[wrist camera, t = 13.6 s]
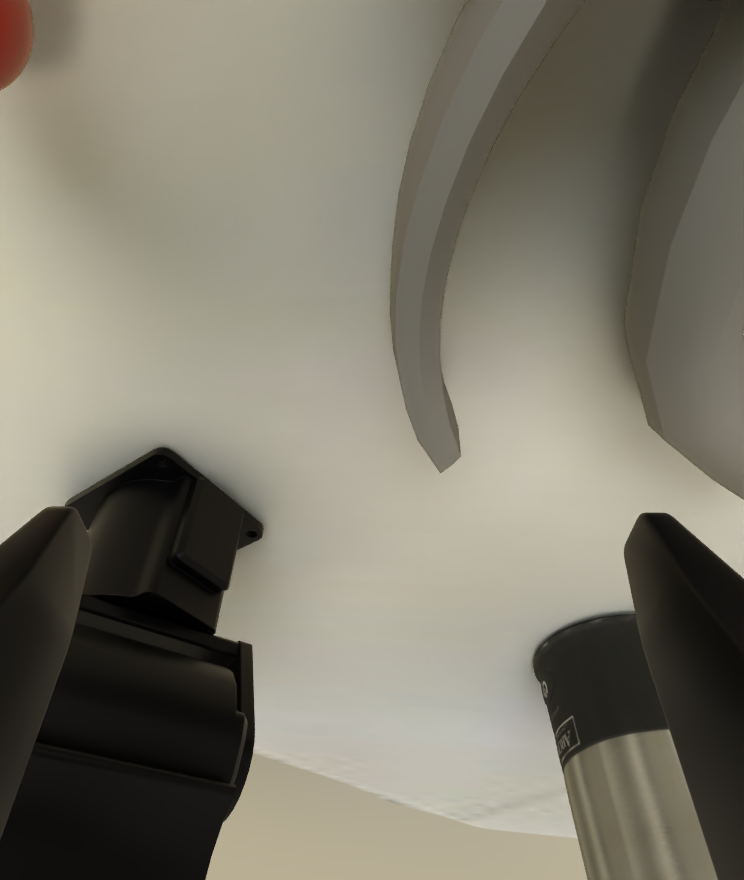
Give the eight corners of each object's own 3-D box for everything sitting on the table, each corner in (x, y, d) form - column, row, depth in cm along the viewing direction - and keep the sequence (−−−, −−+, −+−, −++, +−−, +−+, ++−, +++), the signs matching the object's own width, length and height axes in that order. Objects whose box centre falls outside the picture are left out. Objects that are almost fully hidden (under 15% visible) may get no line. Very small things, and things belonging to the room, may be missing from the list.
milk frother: (522, 625, 34) (596, 973, 23) (829, 575, 31) (1085, 949, 20) (549, 726, 43) (611, 1010, 32) (788, 695, 40) (948, 998, 29)
